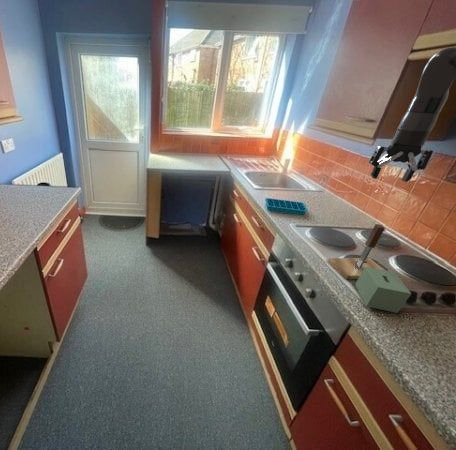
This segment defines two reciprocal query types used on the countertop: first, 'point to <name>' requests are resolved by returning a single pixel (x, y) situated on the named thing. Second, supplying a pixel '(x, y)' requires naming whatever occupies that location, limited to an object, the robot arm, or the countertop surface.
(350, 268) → the cutting board
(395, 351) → the countertop surface
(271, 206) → the ice cube tray
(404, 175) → the robot arm
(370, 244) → the knife
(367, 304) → the grey-green block
